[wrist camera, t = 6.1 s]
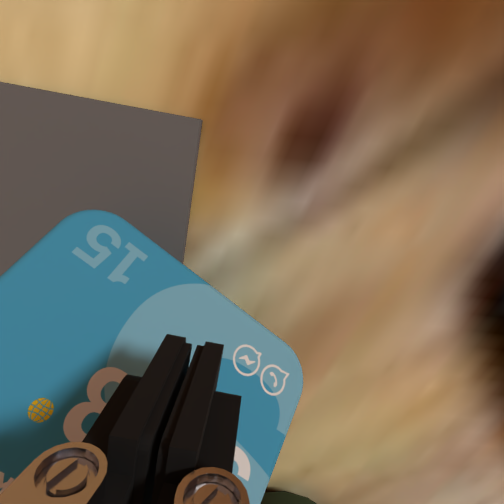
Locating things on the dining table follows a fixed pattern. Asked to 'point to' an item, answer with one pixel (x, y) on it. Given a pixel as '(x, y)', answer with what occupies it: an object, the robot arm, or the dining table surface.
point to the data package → (125, 343)
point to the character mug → (284, 498)
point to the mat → (91, 167)
